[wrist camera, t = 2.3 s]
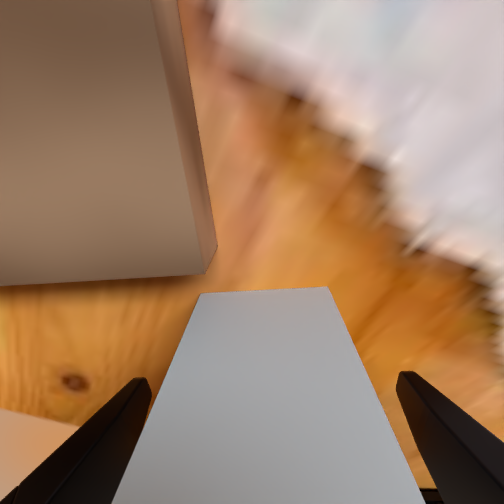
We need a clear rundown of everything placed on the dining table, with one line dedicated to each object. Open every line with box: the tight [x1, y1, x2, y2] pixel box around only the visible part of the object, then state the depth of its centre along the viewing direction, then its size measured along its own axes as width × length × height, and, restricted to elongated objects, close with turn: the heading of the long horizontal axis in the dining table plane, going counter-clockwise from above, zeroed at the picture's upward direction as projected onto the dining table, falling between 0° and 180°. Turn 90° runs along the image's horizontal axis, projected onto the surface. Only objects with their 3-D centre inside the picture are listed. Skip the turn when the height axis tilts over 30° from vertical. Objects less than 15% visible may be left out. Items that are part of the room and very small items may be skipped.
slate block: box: [112, 287, 426, 504], centre depth 7 cm, size 5×5×7 cm
